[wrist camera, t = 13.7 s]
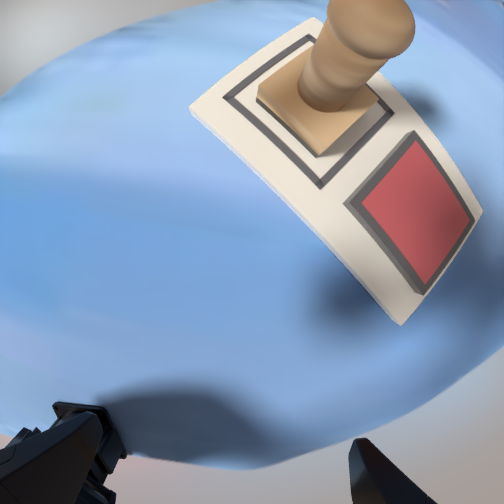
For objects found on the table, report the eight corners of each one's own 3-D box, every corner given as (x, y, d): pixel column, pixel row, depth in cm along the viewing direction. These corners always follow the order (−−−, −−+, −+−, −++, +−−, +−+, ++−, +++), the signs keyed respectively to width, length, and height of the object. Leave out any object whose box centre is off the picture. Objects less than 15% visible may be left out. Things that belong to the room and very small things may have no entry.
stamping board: (472, 211, 21) (484, 211, 19) (392, 320, 21) (401, 326, 19) (309, 26, 18) (313, 15, 17) (191, 114, 19) (188, 106, 17)
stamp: (363, 111, 18) (466, 30, 6) (315, 158, 18) (415, 79, 6) (308, 60, 17) (365, -54, 6) (255, 101, 17) (280, -28, 6)
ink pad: (466, 220, 19) (475, 220, 18) (414, 292, 19) (423, 295, 18) (405, 133, 18) (414, 129, 17) (342, 203, 18) (349, 202, 17)
